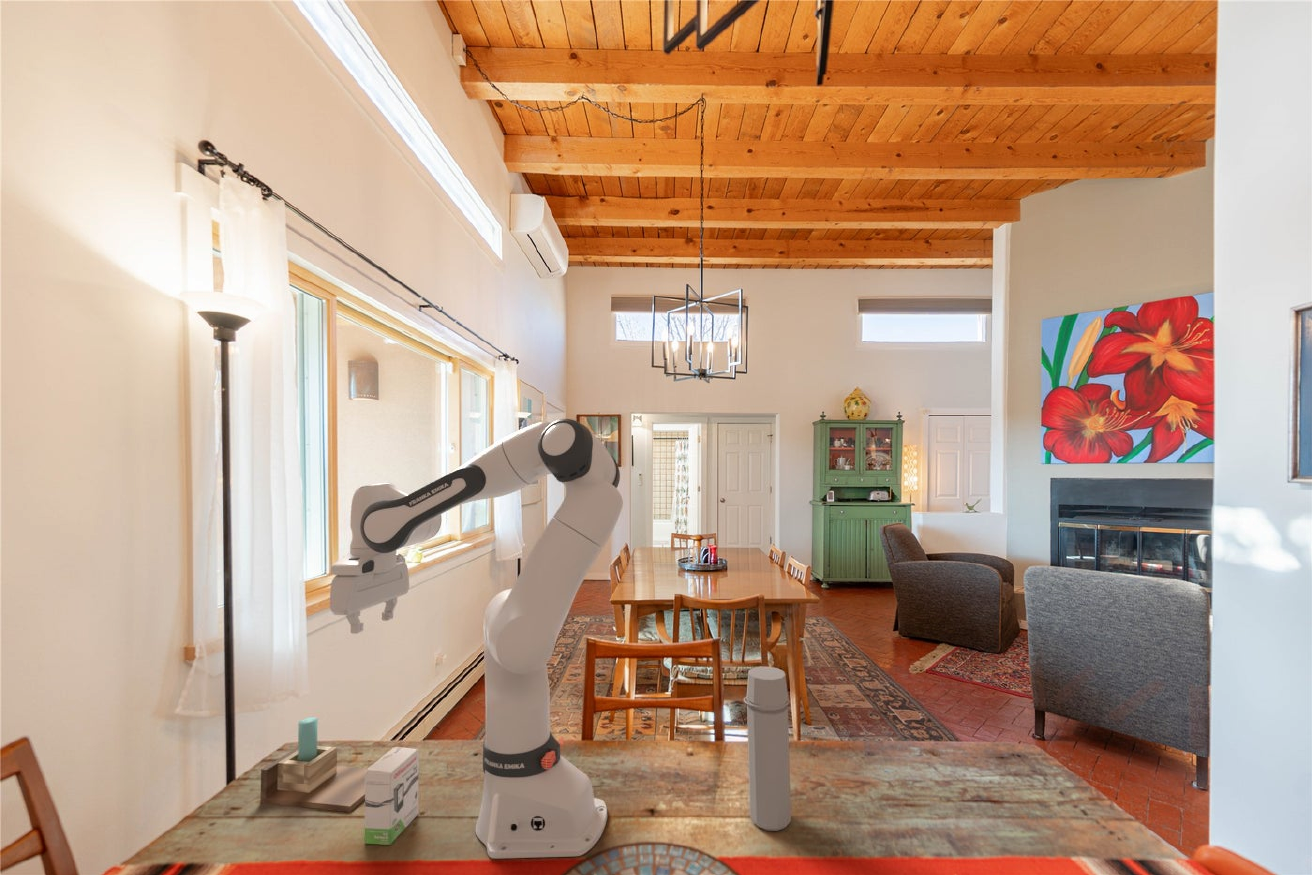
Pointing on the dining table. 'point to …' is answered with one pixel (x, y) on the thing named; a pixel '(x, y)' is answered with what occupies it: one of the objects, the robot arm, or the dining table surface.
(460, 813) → the dining table surface
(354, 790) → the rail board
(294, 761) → the wooden square socket
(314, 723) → the dowel
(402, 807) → the ink box
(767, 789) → the water bottle
